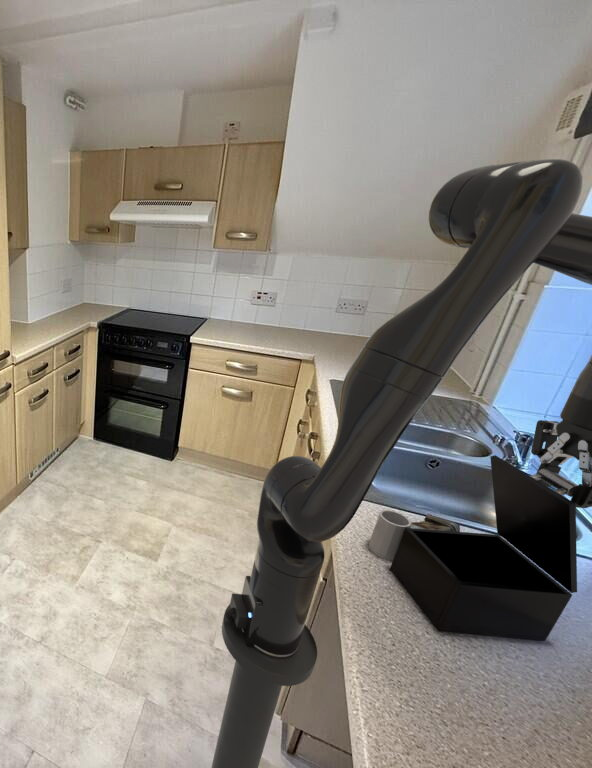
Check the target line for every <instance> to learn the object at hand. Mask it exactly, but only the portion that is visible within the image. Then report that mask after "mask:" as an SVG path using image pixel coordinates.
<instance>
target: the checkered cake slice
mask: <svg viewBox="0 0 592 768" xmlns="http://www.w3.org/2000/svg"><path fill="white" fill-rule="evenodd" d="M410 528H416V529H429V530H442V531H455V532H461V526H460V525H459V524H458V523H457V522H453V521H451V520H449V519H445V518H442V517H438V516H435V515H433V514H432V513H427V514H426V516H425V517H424V519H423V521H415V522H411V527H410Z"/></svg>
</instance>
